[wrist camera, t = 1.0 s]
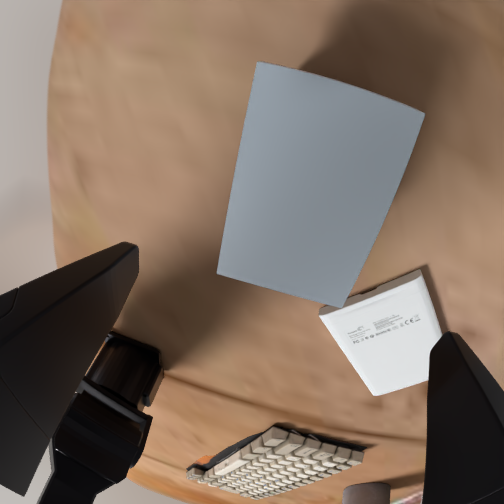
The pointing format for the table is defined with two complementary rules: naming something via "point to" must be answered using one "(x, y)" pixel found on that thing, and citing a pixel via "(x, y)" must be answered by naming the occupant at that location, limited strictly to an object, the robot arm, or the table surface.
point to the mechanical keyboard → (275, 462)
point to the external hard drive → (387, 333)
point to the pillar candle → (367, 494)
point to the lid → (313, 182)
